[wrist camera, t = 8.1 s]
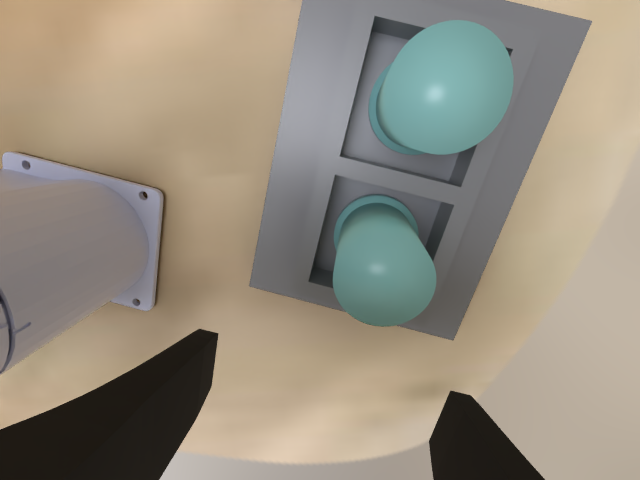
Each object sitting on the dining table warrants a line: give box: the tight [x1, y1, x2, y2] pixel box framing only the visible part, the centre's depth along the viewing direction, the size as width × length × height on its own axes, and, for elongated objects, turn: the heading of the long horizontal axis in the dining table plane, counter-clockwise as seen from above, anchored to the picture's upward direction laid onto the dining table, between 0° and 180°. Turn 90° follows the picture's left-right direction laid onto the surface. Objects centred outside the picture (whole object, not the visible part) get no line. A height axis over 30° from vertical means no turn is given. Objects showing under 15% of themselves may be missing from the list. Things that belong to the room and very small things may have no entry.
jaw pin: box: [368, 20, 514, 155], centre depth 13 cm, size 4×4×6 cm
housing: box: [249, 0, 592, 340], centre depth 16 cm, size 12×16×3 cm
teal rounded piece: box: [333, 194, 436, 326], centre depth 15 cm, size 4×4×6 cm
